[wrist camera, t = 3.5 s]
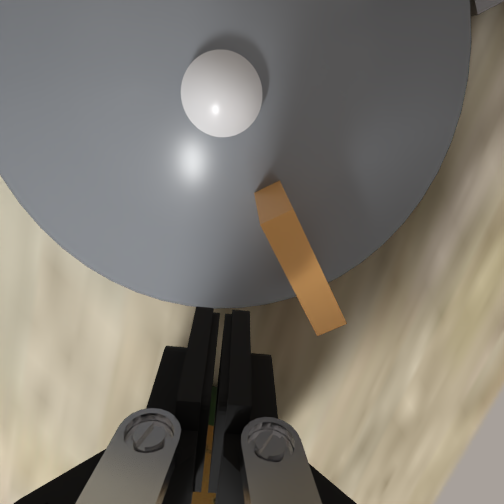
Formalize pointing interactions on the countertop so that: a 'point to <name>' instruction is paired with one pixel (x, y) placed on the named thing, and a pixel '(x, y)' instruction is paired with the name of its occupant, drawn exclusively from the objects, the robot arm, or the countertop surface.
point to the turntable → (228, 136)
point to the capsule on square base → (482, 6)
